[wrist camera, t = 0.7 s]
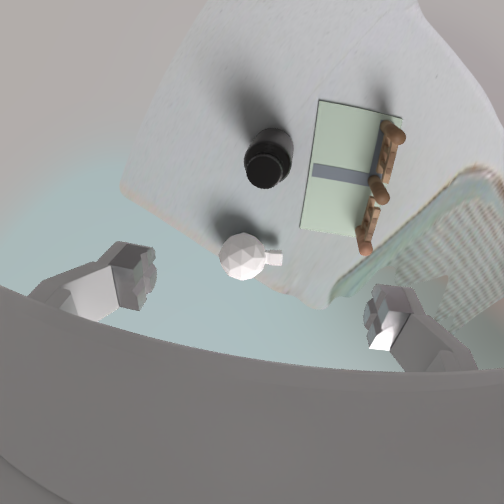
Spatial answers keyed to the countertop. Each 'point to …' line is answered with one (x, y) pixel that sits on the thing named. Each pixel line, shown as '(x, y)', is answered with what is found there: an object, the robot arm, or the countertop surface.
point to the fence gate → (367, 227)
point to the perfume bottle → (246, 256)
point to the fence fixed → (386, 160)
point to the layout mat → (342, 167)
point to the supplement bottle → (269, 158)
